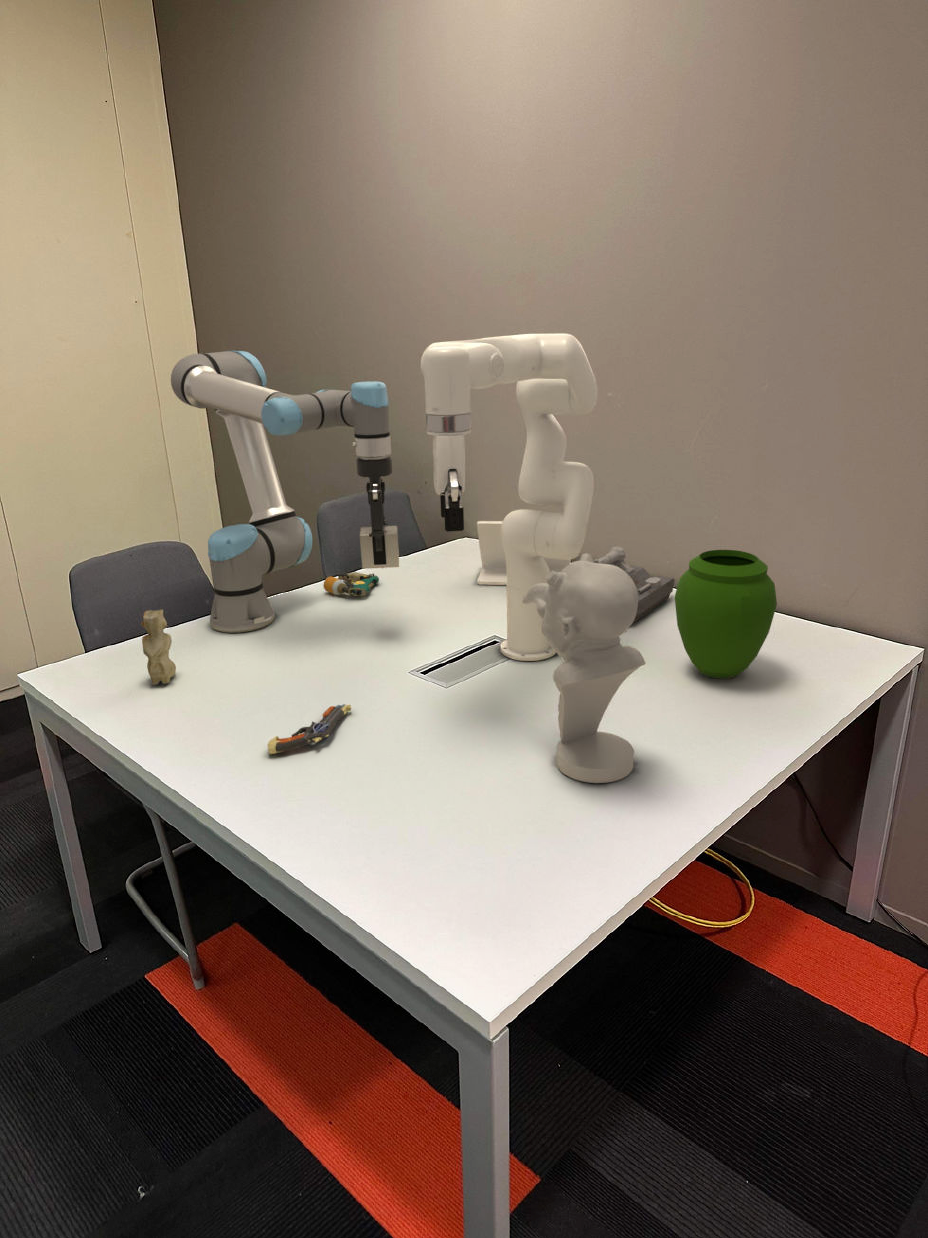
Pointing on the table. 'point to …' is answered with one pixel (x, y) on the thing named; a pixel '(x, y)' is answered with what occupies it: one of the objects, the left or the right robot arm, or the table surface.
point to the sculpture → (157, 647)
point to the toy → (641, 582)
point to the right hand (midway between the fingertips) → (452, 523)
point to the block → (390, 547)
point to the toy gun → (310, 731)
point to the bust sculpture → (589, 662)
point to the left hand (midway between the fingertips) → (380, 559)
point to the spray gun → (350, 583)
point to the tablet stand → (501, 555)
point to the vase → (724, 611)
